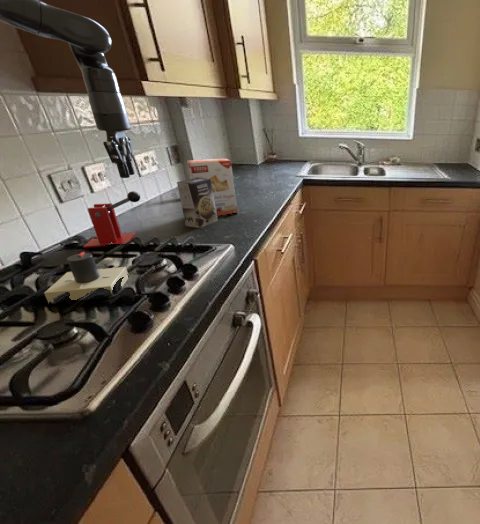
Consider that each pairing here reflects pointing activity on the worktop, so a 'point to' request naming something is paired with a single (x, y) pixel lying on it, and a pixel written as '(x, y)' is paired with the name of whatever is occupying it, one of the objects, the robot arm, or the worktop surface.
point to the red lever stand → (106, 227)
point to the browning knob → (83, 267)
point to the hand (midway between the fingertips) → (127, 175)
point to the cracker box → (217, 182)
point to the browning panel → (81, 289)
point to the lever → (125, 200)
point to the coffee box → (197, 202)
